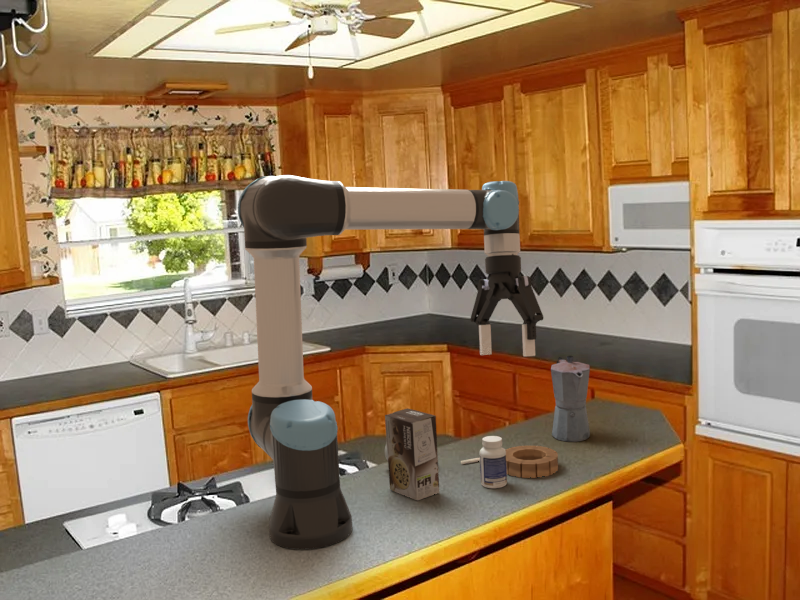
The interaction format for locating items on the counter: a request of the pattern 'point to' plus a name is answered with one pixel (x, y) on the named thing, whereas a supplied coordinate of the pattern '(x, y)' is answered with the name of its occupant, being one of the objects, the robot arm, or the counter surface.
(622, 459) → the counter surface
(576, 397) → the moka pot
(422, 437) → the coffee box
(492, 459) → the pill bottle
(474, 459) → the wooden dowel
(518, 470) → the brown segmented ring
